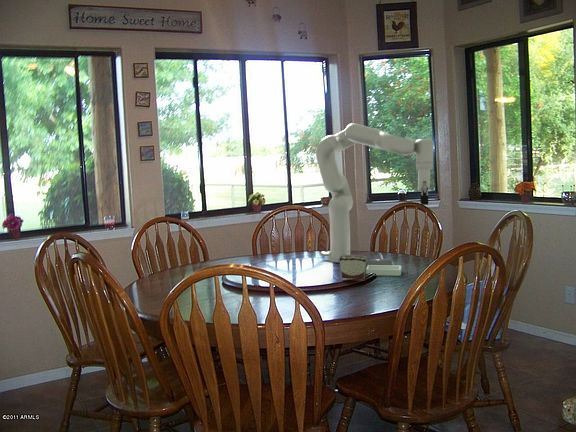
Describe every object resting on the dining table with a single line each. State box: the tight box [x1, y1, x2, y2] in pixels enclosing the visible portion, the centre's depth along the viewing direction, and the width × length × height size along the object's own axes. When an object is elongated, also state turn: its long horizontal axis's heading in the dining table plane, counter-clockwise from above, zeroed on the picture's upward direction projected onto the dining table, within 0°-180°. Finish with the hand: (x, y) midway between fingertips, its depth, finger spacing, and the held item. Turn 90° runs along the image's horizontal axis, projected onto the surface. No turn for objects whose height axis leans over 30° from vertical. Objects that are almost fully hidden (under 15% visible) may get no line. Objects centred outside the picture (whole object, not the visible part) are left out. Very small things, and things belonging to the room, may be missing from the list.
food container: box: [338, 254, 369, 279], centre depth 268 cm, size 12×6×10 cm, turn 71°
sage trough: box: [365, 264, 402, 277], centre depth 279 cm, size 15×9×3 cm, turn 79°
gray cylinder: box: [368, 258, 395, 265], centre depth 289 cm, size 11×4×4 cm, turn 79°
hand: (424, 203), depth 295 cm, fingers open, 9 cm apart
